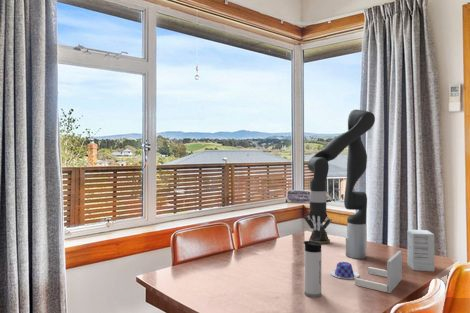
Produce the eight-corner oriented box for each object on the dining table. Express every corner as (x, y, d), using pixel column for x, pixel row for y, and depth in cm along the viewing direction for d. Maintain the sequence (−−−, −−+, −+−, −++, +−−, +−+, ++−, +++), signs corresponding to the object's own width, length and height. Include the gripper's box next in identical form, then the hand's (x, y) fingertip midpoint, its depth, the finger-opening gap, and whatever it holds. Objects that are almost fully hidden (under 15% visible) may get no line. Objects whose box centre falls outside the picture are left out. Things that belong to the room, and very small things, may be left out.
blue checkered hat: (324, 273, 158) (324, 261, 158) (345, 269, 163) (345, 258, 163) (343, 282, 147) (343, 269, 147) (365, 277, 152) (365, 265, 152)
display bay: (354, 284, 143) (354, 255, 143) (368, 272, 158) (369, 245, 158) (390, 293, 135) (390, 261, 135) (401, 279, 150) (401, 250, 149)
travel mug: (301, 291, 137) (301, 239, 137) (318, 290, 138) (318, 239, 137) (306, 297, 131) (306, 243, 131) (323, 297, 131) (323, 243, 131)
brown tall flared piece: (340, 245, 203) (340, 184, 202) (319, 247, 199) (319, 185, 199) (325, 238, 219) (325, 182, 218) (306, 239, 215) (306, 182, 215)
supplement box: (435, 271, 158) (435, 234, 158) (412, 270, 160) (413, 233, 160) (427, 265, 168) (428, 229, 167) (406, 263, 170) (407, 228, 169)
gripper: (301, 200, 163) (301, 237, 163) (328, 202, 155) (328, 242, 155) (308, 198, 169) (308, 234, 169) (334, 200, 161) (334, 238, 161)
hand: (318, 238), depth 162 cm, fingers closed
